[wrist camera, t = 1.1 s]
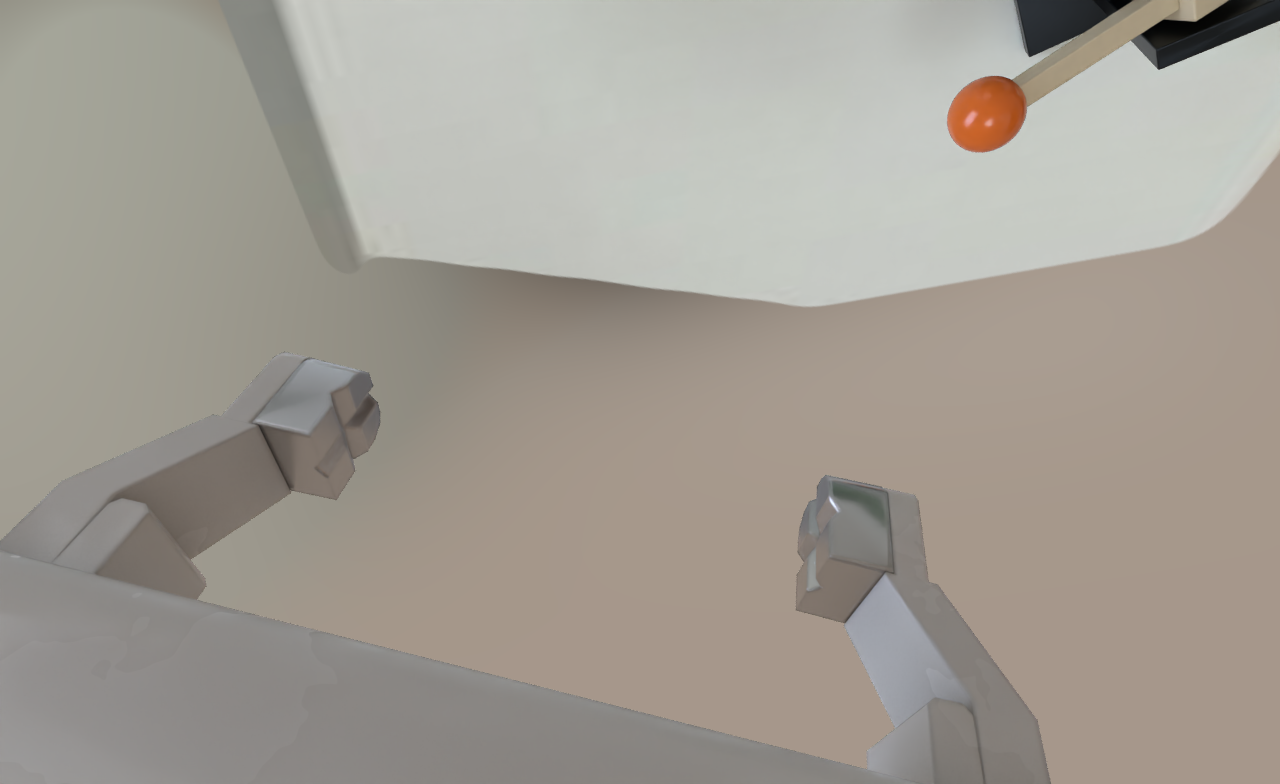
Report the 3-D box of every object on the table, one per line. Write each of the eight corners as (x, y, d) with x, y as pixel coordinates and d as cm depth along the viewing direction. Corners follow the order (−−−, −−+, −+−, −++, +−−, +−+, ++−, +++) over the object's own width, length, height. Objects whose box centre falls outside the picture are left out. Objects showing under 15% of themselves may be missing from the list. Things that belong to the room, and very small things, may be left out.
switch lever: (943, 157, 32) (983, 174, 29) (925, 98, 30) (965, 110, 28) (1201, -9, 30) (1269, -7, 27) (1197, -82, 28) (1269, -88, 26)
